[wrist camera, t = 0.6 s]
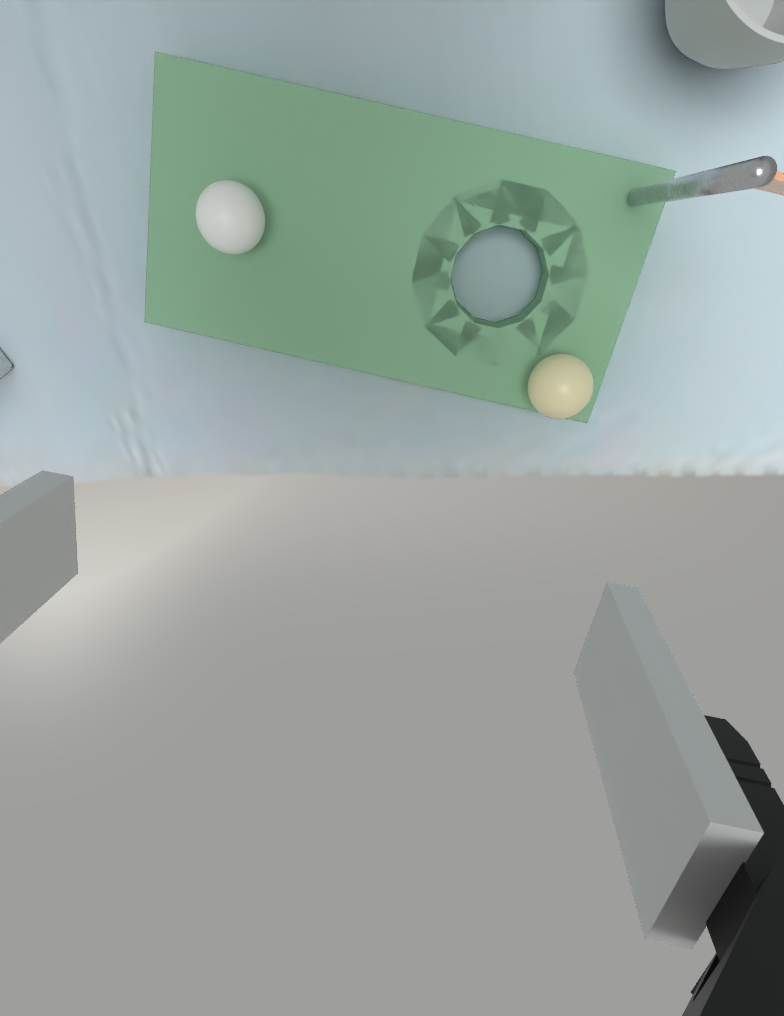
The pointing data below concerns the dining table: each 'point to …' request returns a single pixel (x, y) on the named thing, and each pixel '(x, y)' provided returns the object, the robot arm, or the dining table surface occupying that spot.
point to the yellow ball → (560, 386)
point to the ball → (230, 217)
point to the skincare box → (4, 364)
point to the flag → (713, 182)
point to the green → (384, 233)
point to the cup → (727, 31)
